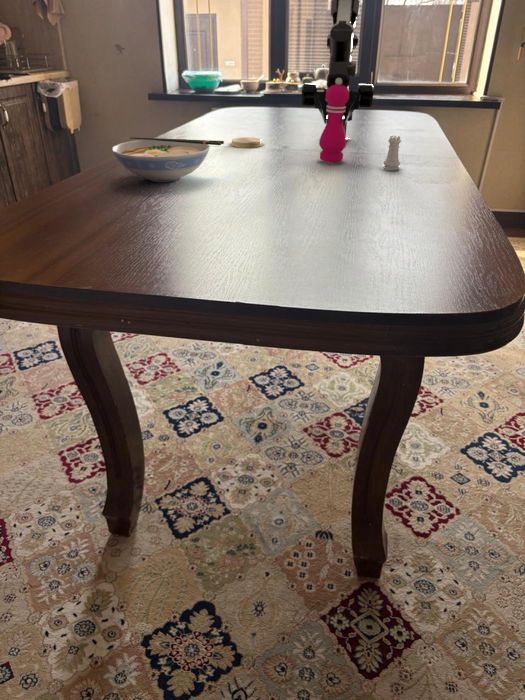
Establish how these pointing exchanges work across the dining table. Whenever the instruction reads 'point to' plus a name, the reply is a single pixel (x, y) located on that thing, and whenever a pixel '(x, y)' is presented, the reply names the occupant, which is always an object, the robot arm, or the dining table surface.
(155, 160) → the ramen bowl
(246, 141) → the beige flat disc
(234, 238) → the dining table surface
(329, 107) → the pepper mill
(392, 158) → the rook chess piece
